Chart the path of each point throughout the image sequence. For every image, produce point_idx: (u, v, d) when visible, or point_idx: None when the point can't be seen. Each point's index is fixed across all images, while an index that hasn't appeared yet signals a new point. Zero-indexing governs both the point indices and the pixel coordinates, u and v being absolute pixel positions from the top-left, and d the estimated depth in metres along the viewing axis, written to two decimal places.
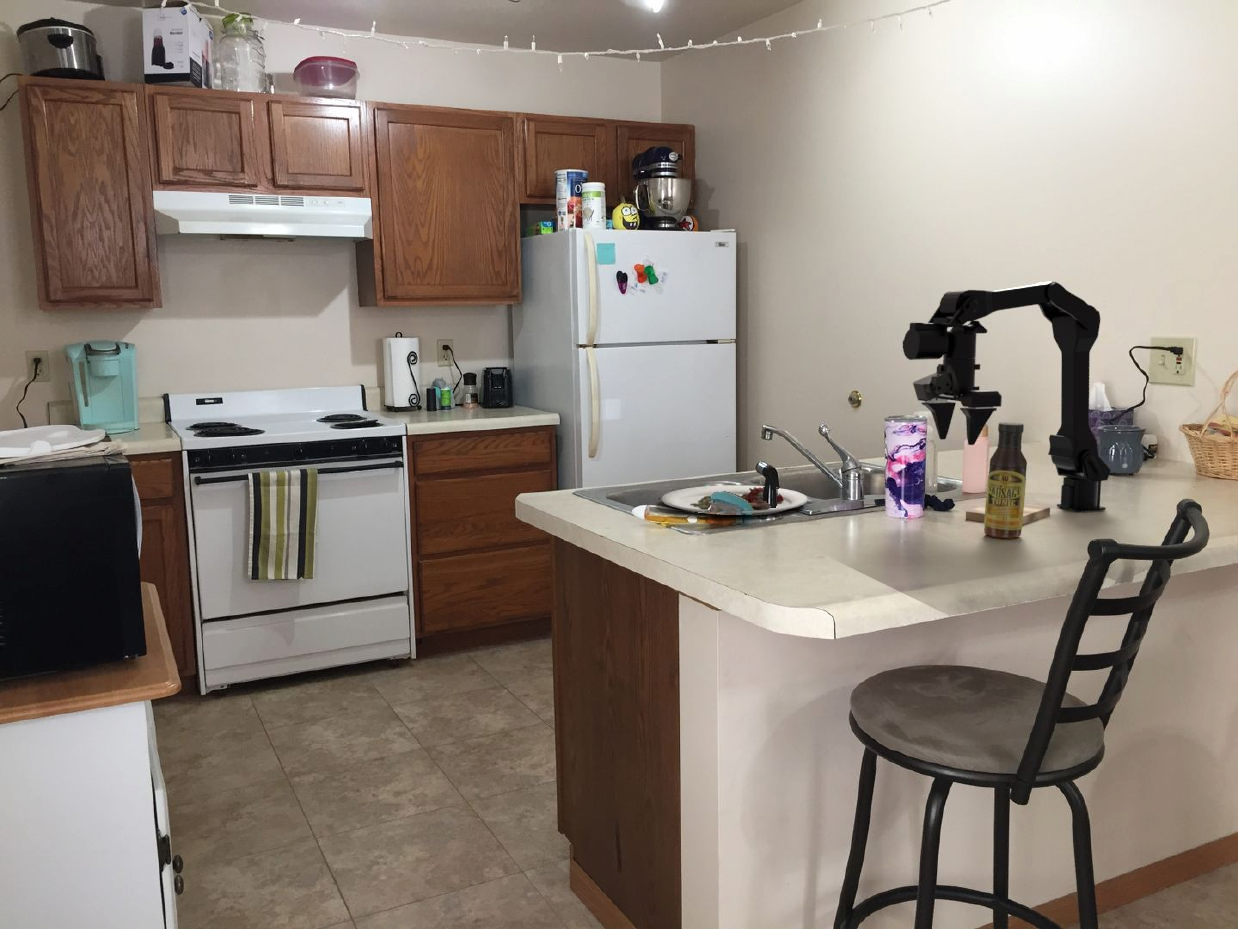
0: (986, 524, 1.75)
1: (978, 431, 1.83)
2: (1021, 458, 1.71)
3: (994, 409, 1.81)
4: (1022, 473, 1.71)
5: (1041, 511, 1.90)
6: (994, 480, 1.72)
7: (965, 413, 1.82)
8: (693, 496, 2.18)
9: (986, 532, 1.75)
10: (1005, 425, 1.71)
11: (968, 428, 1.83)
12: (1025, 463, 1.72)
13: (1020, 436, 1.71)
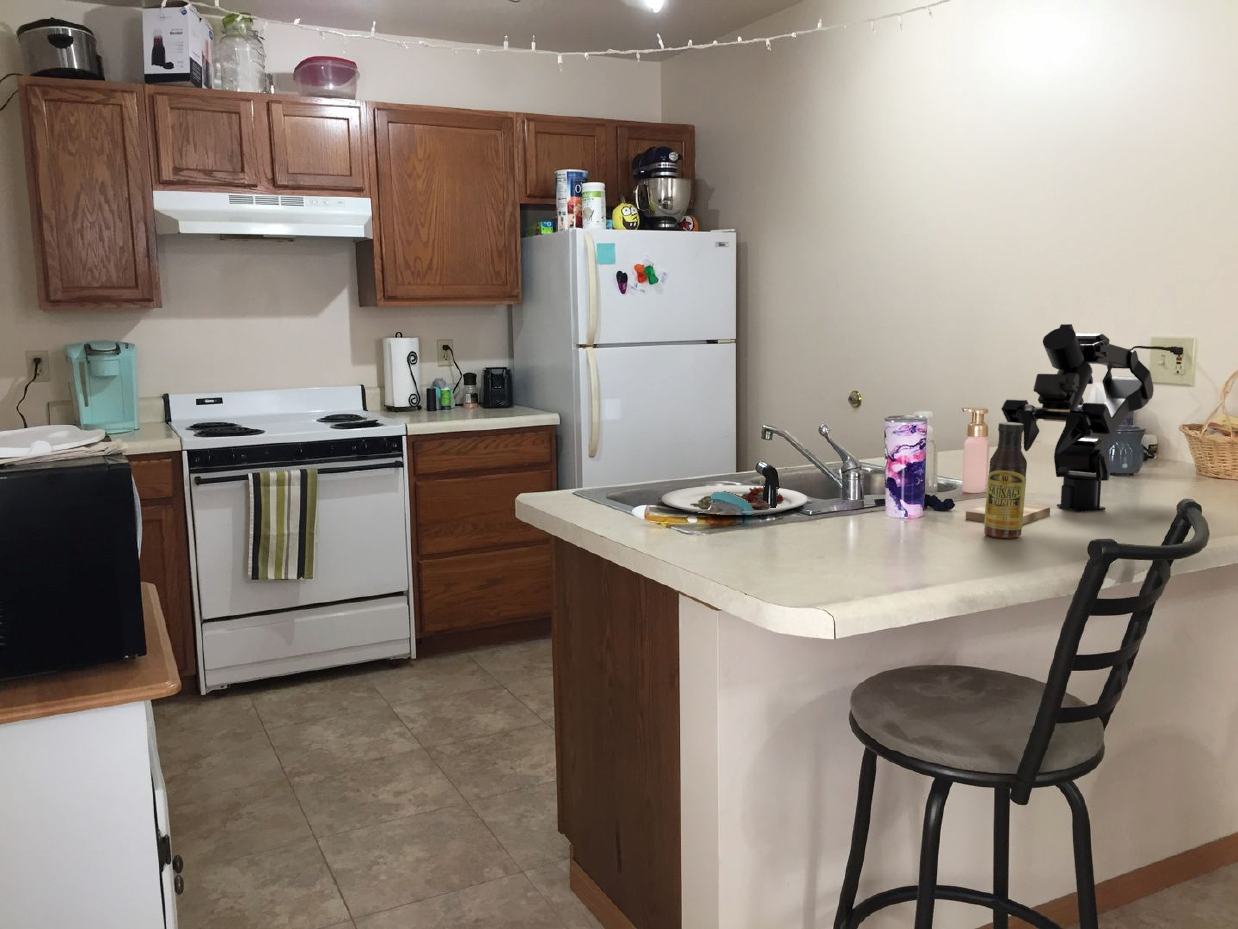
0: (986, 524, 1.75)
1: (1067, 444, 1.81)
2: (1021, 458, 1.71)
3: (1090, 432, 1.82)
4: (1022, 473, 1.71)
5: (1041, 511, 1.90)
6: (994, 480, 1.72)
7: (1069, 419, 1.81)
8: (693, 496, 2.18)
9: (986, 532, 1.75)
10: (1005, 425, 1.71)
11: (1064, 435, 1.81)
12: (1025, 463, 1.72)
13: (1020, 436, 1.71)
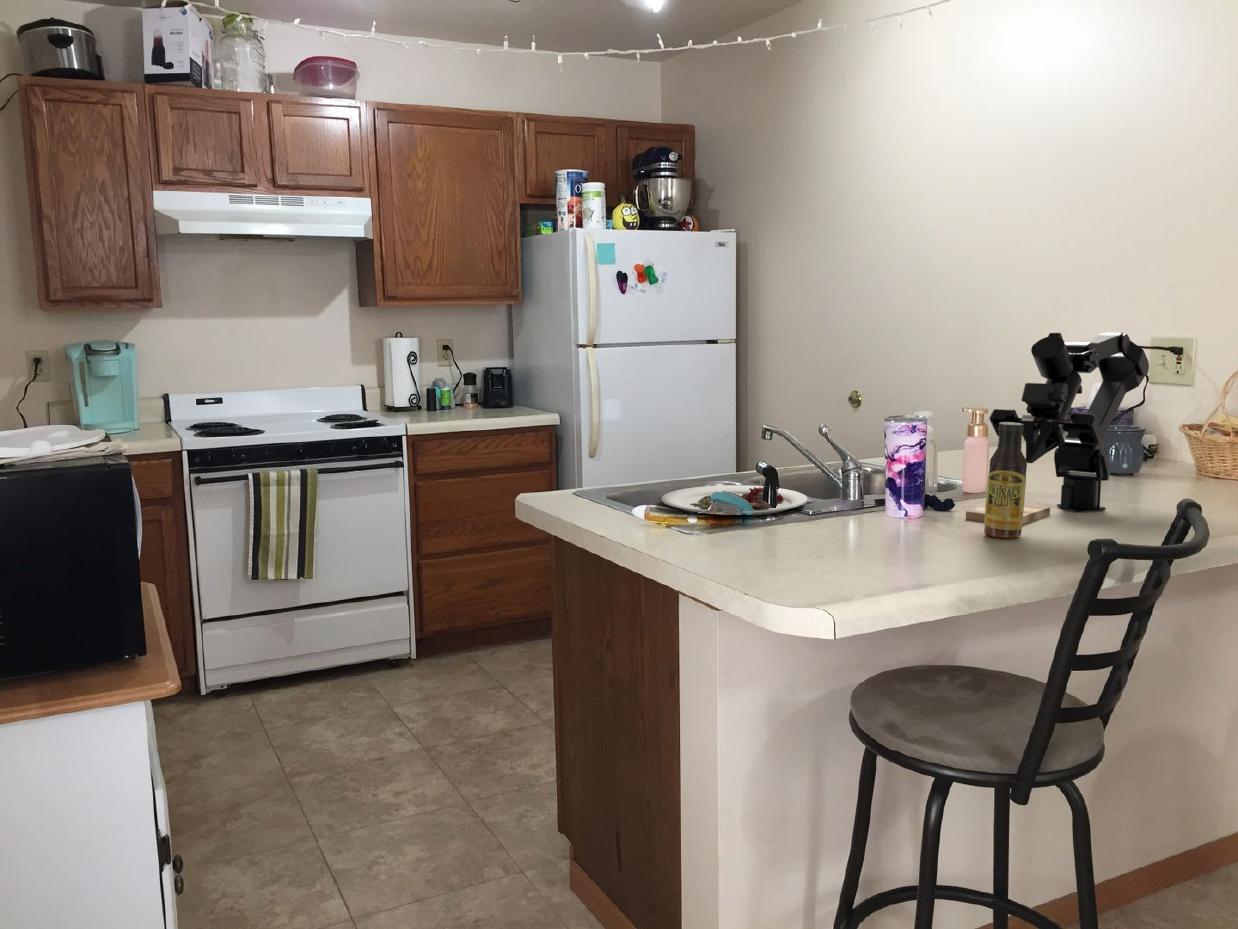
0: (986, 524, 1.75)
1: (1041, 454, 1.80)
2: (1021, 458, 1.71)
3: (1064, 442, 1.81)
4: (1022, 473, 1.71)
5: (1041, 511, 1.90)
6: (994, 480, 1.72)
7: (1042, 429, 1.80)
8: (693, 496, 2.18)
9: (986, 532, 1.75)
10: (1005, 425, 1.71)
11: (1037, 444, 1.79)
12: (1025, 463, 1.72)
13: (1020, 436, 1.71)
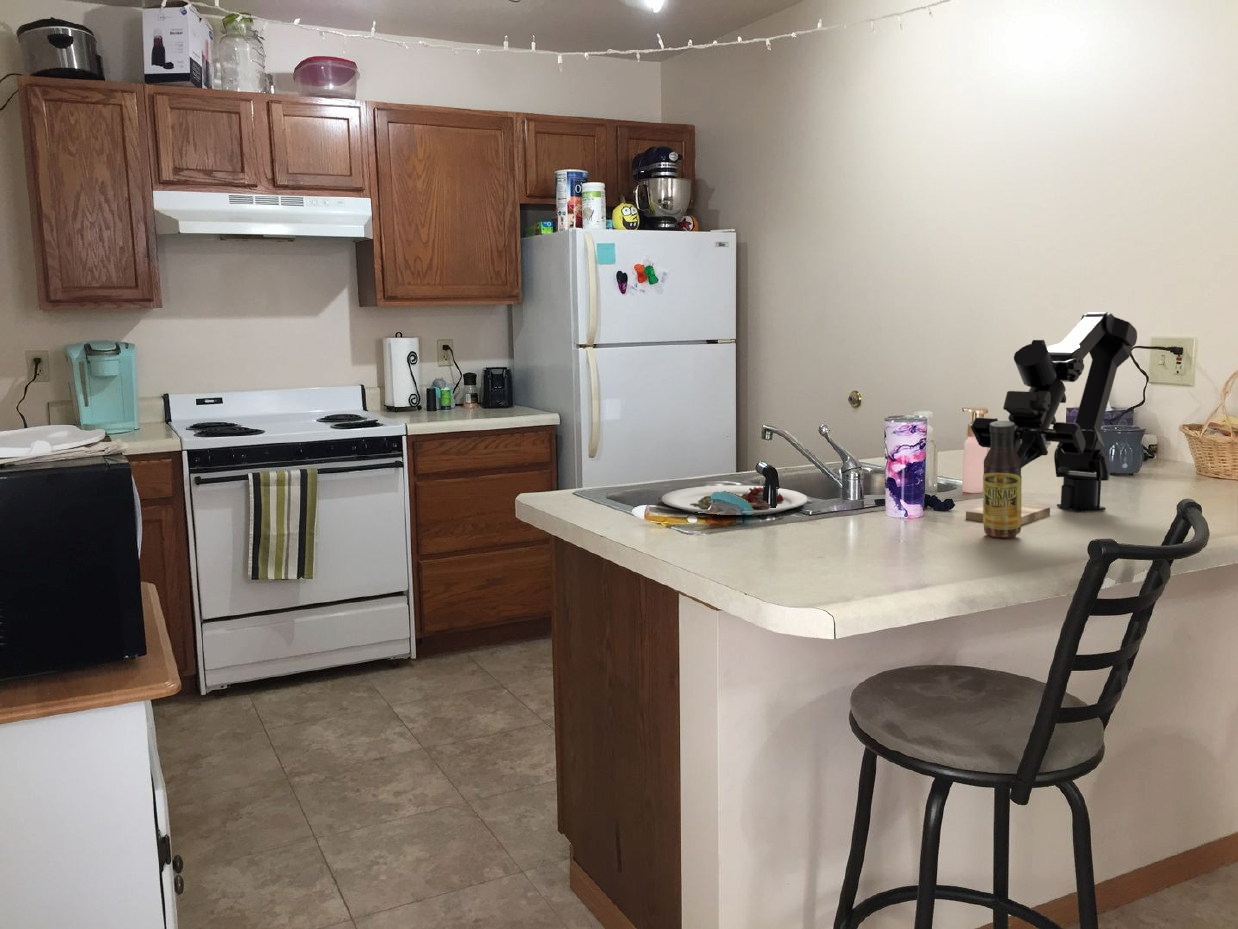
0: (985, 524, 1.74)
1: (1022, 464, 1.75)
2: (1014, 458, 1.70)
3: (1047, 452, 1.76)
4: (1017, 473, 1.70)
5: (1041, 511, 1.90)
6: (989, 482, 1.71)
7: (1024, 438, 1.75)
8: (693, 496, 2.18)
9: (986, 532, 1.75)
10: (996, 427, 1.69)
11: (1019, 454, 1.75)
12: (1019, 462, 1.70)
13: (1012, 436, 1.69)
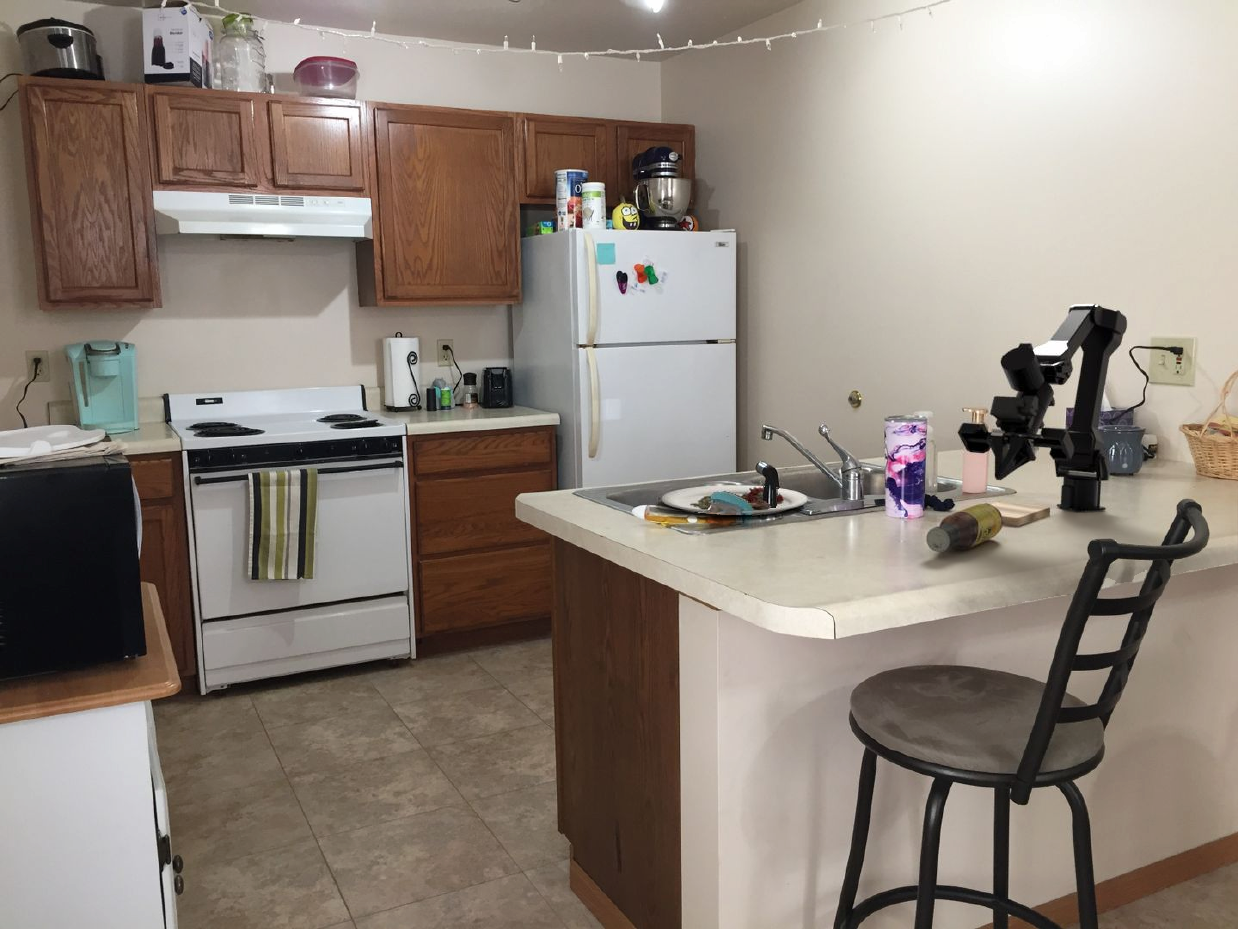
0: None
1: (1010, 470, 1.72)
2: (966, 531, 1.62)
3: (1035, 457, 1.73)
4: (977, 530, 1.63)
5: (1041, 511, 1.90)
6: None
7: (1012, 444, 1.72)
8: (693, 496, 2.18)
9: None
10: None
11: (1006, 460, 1.72)
12: (970, 525, 1.62)
13: (953, 535, 1.60)
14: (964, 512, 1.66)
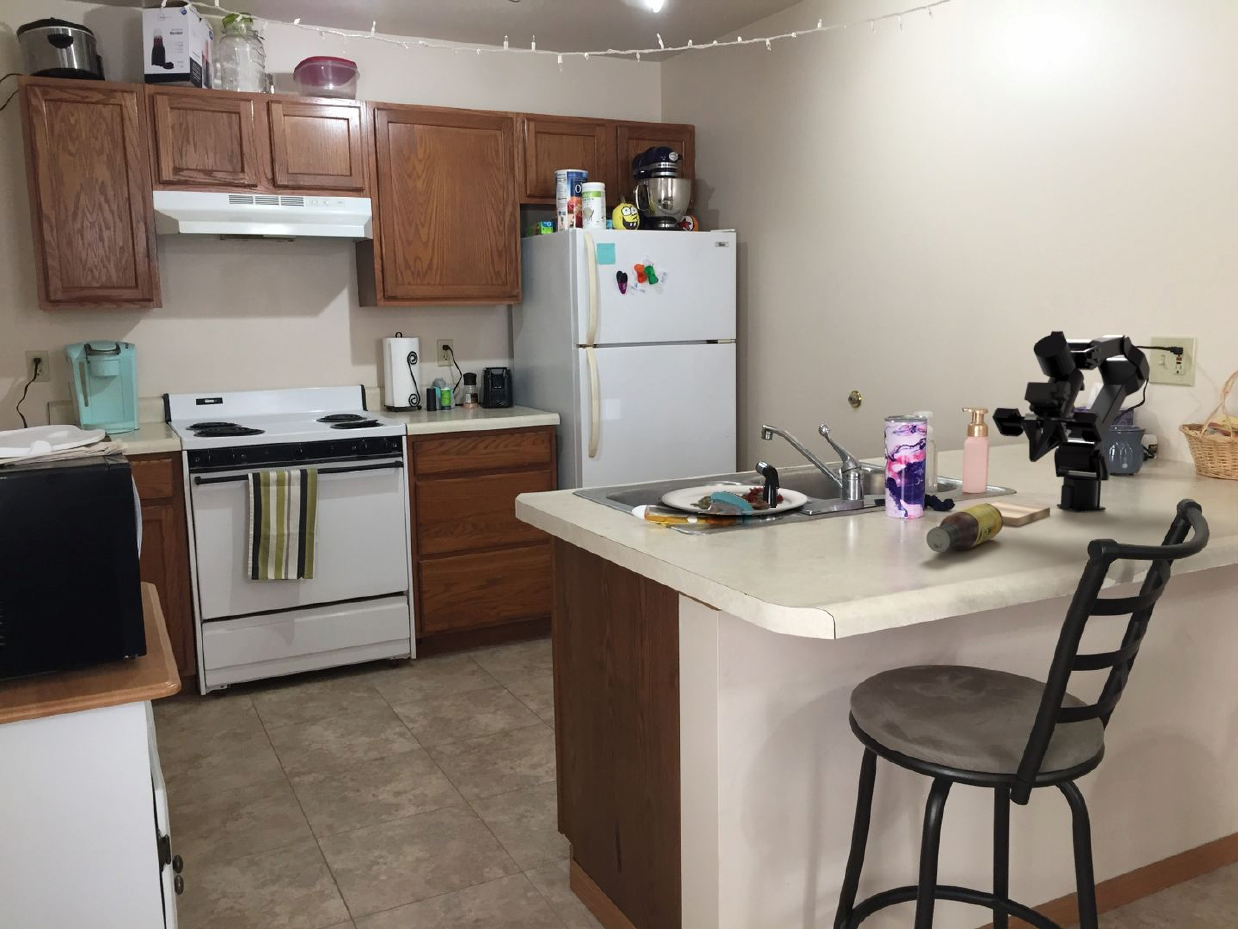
0: None
1: (1044, 452, 1.81)
2: (966, 531, 1.62)
3: (1067, 440, 1.82)
4: (977, 531, 1.63)
5: (1041, 511, 1.90)
6: None
7: (1045, 427, 1.81)
8: (693, 496, 2.18)
9: None
10: None
11: (1040, 443, 1.80)
12: (970, 526, 1.62)
13: (953, 535, 1.60)
14: (964, 512, 1.66)
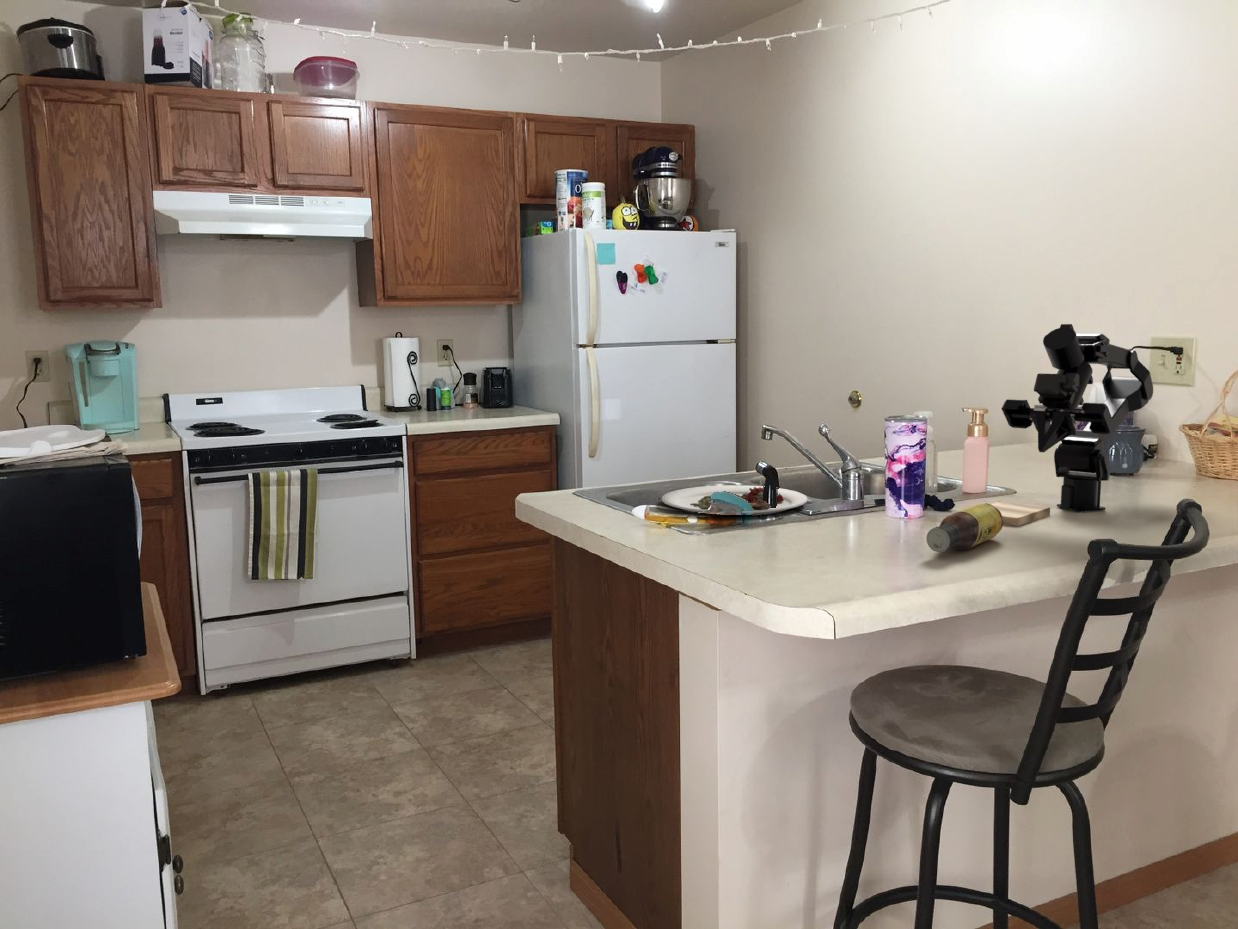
0: None
1: (1052, 443, 1.83)
2: (966, 531, 1.62)
3: (1076, 431, 1.84)
4: (977, 531, 1.63)
5: (1041, 511, 1.90)
6: None
7: (1054, 418, 1.83)
8: (693, 496, 2.18)
9: None
10: None
11: (1049, 434, 1.83)
12: (970, 526, 1.62)
13: (953, 535, 1.60)
14: (964, 512, 1.66)
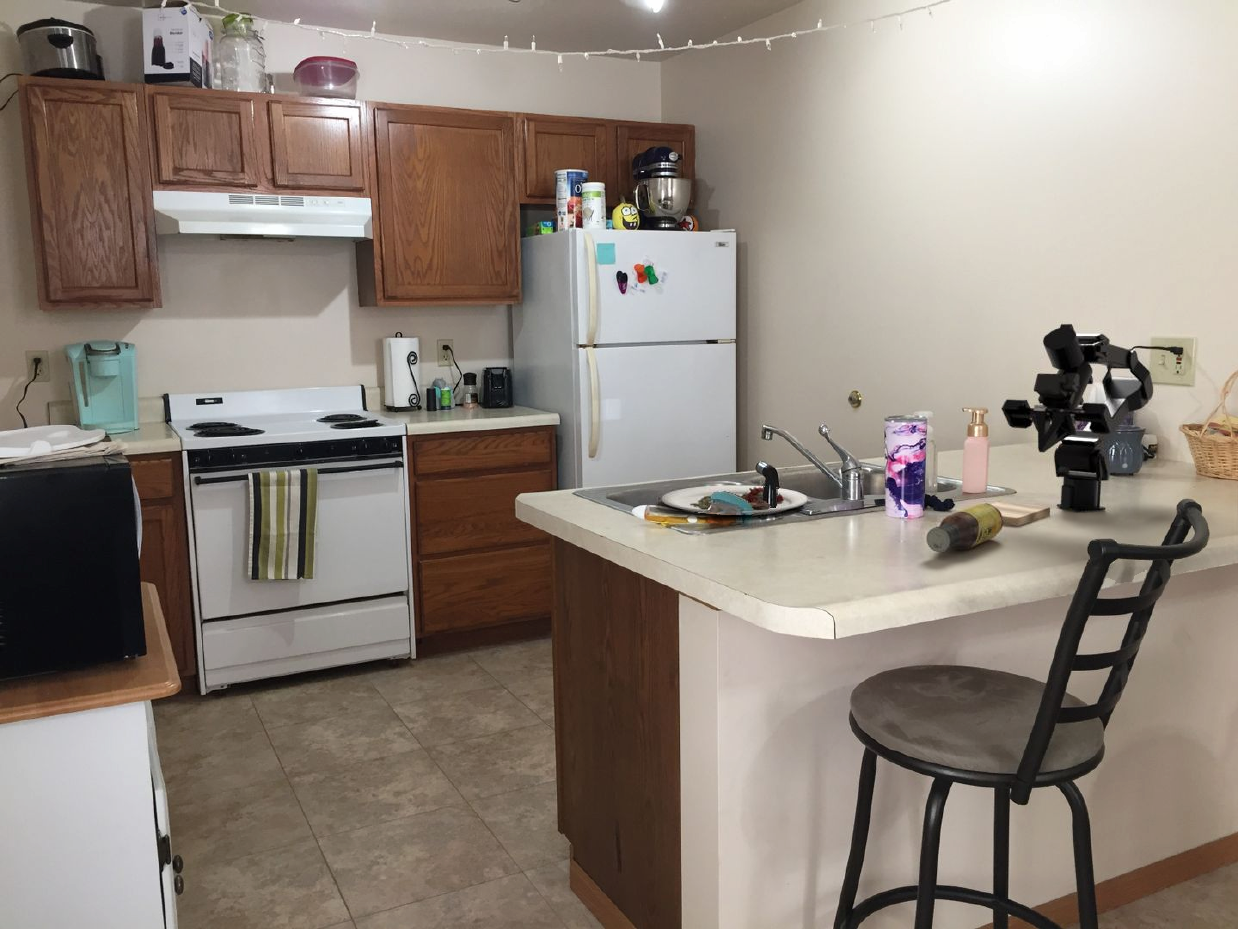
0: None
1: (1052, 443, 1.83)
2: (966, 531, 1.62)
3: (1076, 431, 1.84)
4: (977, 531, 1.63)
5: (1041, 511, 1.90)
6: None
7: (1054, 418, 1.83)
8: (693, 496, 2.18)
9: None
10: None
11: (1049, 434, 1.83)
12: (970, 526, 1.62)
13: (953, 535, 1.60)
14: (964, 512, 1.66)
